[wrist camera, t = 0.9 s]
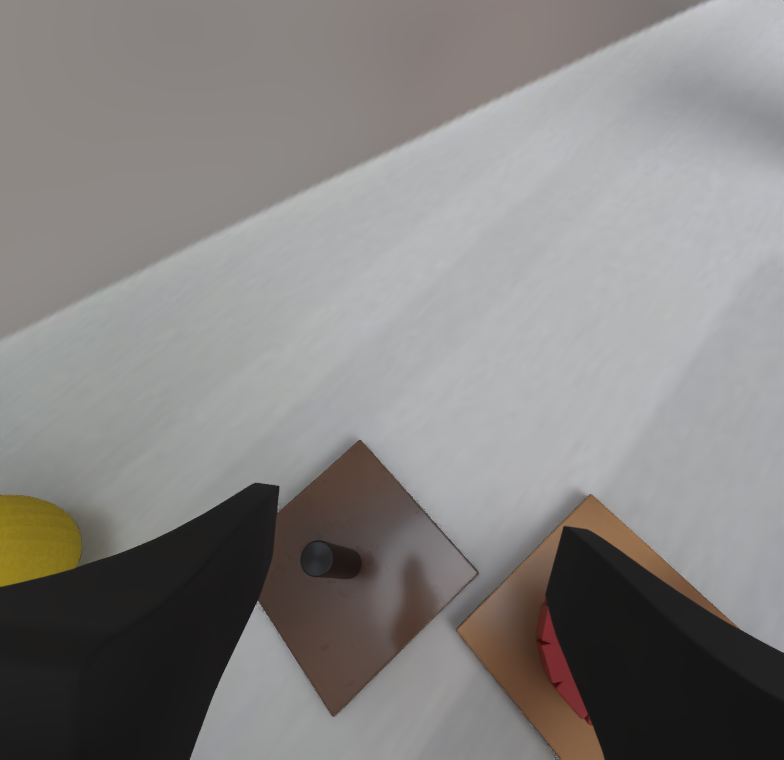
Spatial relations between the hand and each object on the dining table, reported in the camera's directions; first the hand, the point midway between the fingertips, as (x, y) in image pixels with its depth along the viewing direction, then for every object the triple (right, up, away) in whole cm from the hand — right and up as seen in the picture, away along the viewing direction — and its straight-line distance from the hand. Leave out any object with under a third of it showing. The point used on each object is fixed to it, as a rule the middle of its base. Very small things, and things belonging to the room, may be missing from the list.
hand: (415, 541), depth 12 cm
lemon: (-19, -6, +15) cm, 25 cm away
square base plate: (-3, -5, +12) cm, 14 cm away
